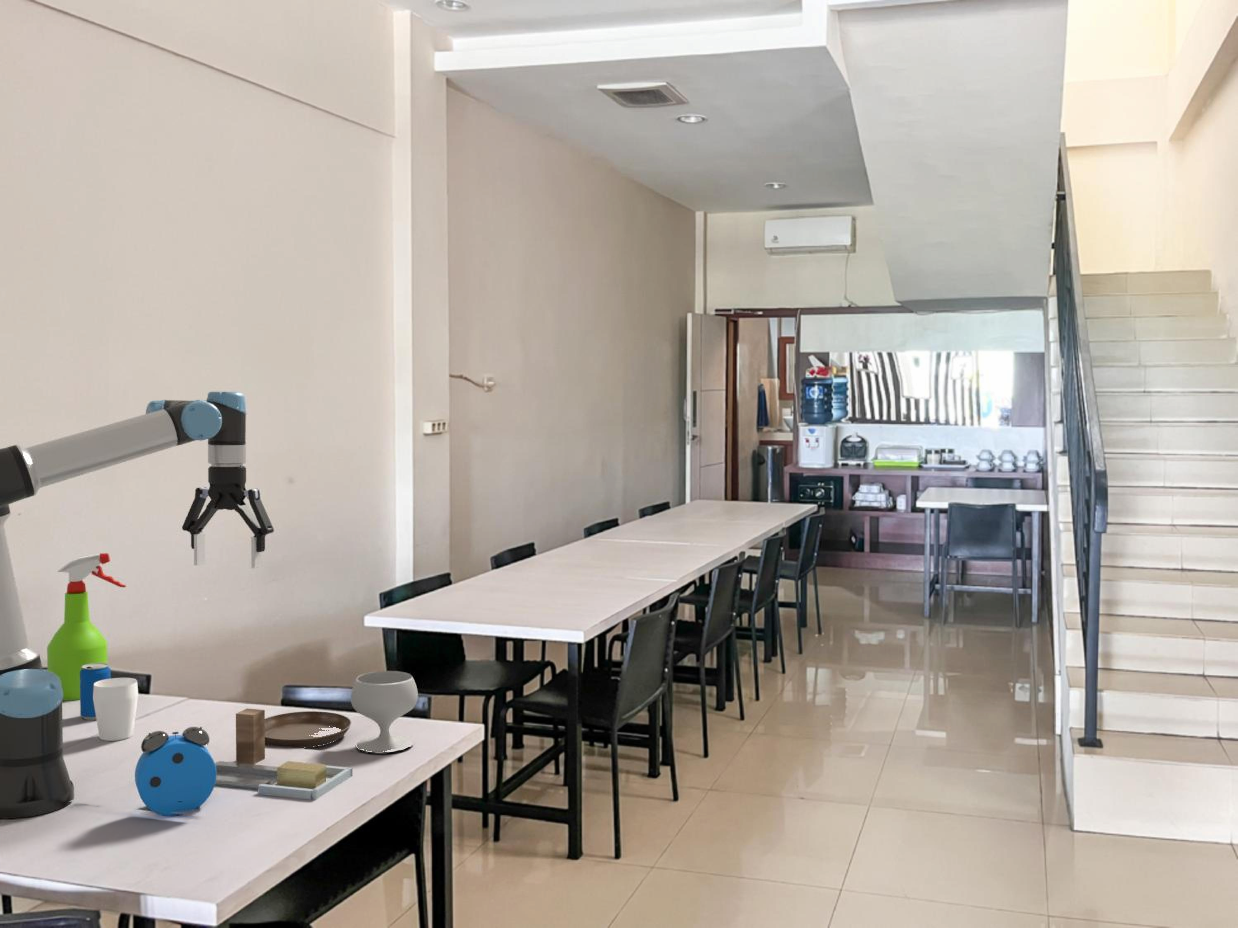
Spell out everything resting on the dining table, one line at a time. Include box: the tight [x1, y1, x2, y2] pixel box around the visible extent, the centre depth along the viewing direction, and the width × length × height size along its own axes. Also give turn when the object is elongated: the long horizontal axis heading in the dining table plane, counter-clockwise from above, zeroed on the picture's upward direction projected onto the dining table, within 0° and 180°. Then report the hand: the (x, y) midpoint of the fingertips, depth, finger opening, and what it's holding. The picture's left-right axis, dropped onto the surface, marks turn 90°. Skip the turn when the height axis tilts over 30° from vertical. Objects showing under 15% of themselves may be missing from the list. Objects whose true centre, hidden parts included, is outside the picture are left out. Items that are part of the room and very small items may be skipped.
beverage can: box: [79, 663, 112, 721], centre depth 263 cm, size 6×6×12 cm
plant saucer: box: [265, 710, 352, 749], centre depth 249 cm, size 21×21×3 cm
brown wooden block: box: [235, 708, 266, 765], centre depth 229 cm, size 4×4×11 cm
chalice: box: [350, 670, 419, 752], centre depth 243 cm, size 14×14×15 cm
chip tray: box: [257, 765, 353, 801], centre depth 216 cm, size 14×12×2 cm
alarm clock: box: [134, 726, 217, 817], centre depth 203 cm, size 13×6×15 cm, turn 118°
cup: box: [93, 677, 139, 742], centre depth 248 cm, size 9×9×12 cm
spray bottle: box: [46, 552, 127, 701], centre depth 284 cm, size 14×18×35 cm
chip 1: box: [276, 760, 307, 788], centre depth 216 cm, size 4×4×4 cm
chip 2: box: [296, 762, 327, 789], centre depth 215 cm, size 4×4×4 cm
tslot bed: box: [214, 760, 278, 791], centre depth 219 cm, size 10×16×2 cm, turn 75°
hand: (228, 566), depth 239 cm, fingers open, 13 cm apart
